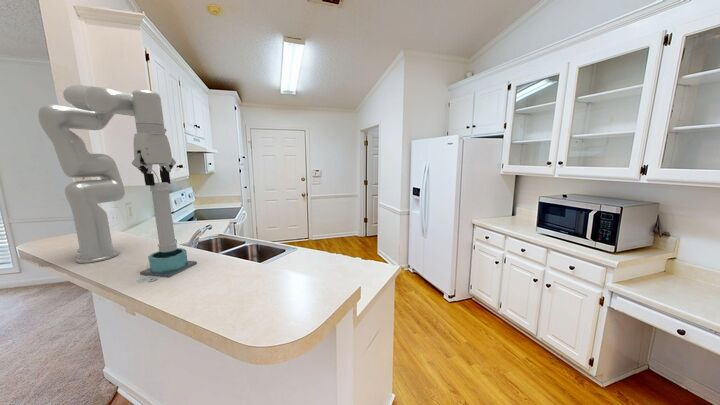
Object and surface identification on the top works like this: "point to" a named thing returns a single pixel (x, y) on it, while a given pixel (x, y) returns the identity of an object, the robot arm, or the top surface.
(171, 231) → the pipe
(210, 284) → the top surface
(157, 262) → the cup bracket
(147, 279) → the mounting bracket
